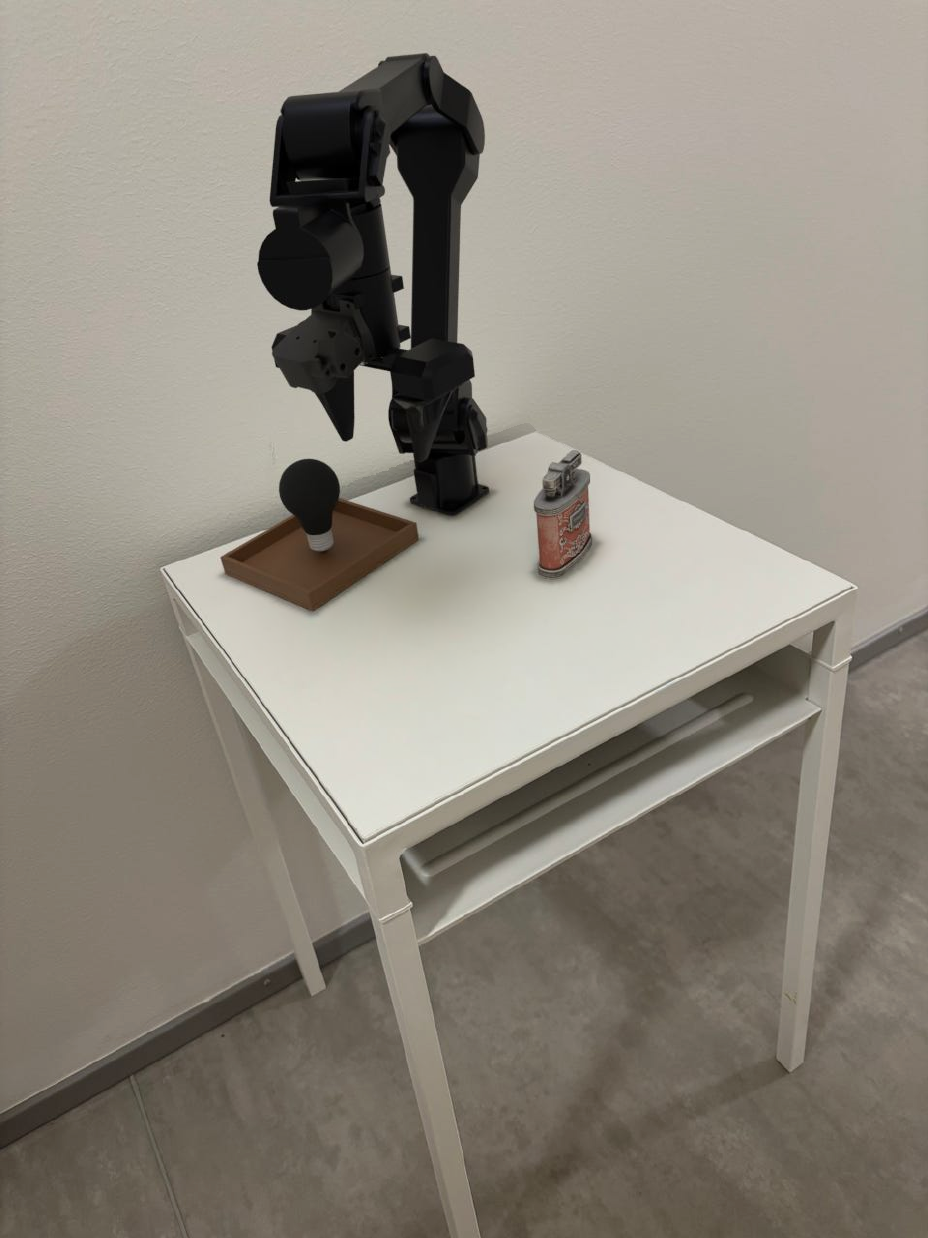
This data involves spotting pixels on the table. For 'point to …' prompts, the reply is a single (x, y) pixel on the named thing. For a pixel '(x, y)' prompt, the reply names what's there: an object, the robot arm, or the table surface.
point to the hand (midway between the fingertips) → (384, 449)
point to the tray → (320, 554)
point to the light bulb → (311, 499)
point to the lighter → (563, 517)
